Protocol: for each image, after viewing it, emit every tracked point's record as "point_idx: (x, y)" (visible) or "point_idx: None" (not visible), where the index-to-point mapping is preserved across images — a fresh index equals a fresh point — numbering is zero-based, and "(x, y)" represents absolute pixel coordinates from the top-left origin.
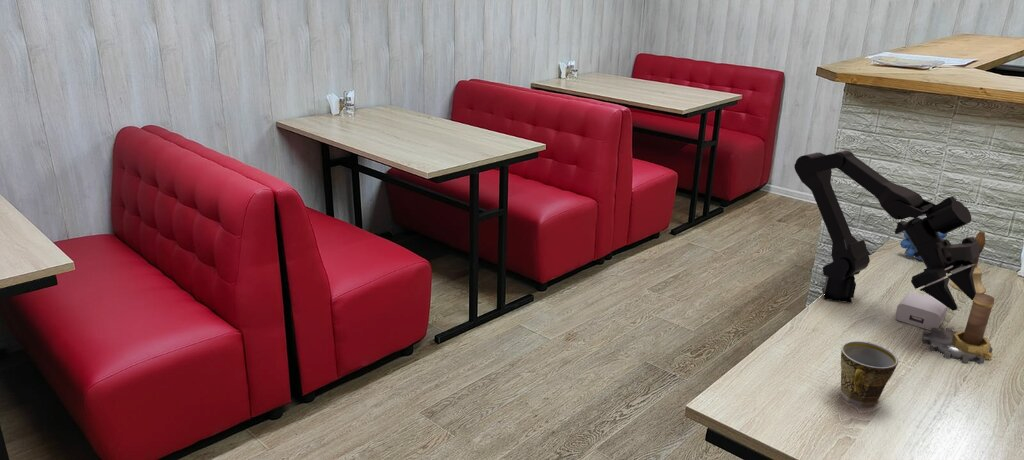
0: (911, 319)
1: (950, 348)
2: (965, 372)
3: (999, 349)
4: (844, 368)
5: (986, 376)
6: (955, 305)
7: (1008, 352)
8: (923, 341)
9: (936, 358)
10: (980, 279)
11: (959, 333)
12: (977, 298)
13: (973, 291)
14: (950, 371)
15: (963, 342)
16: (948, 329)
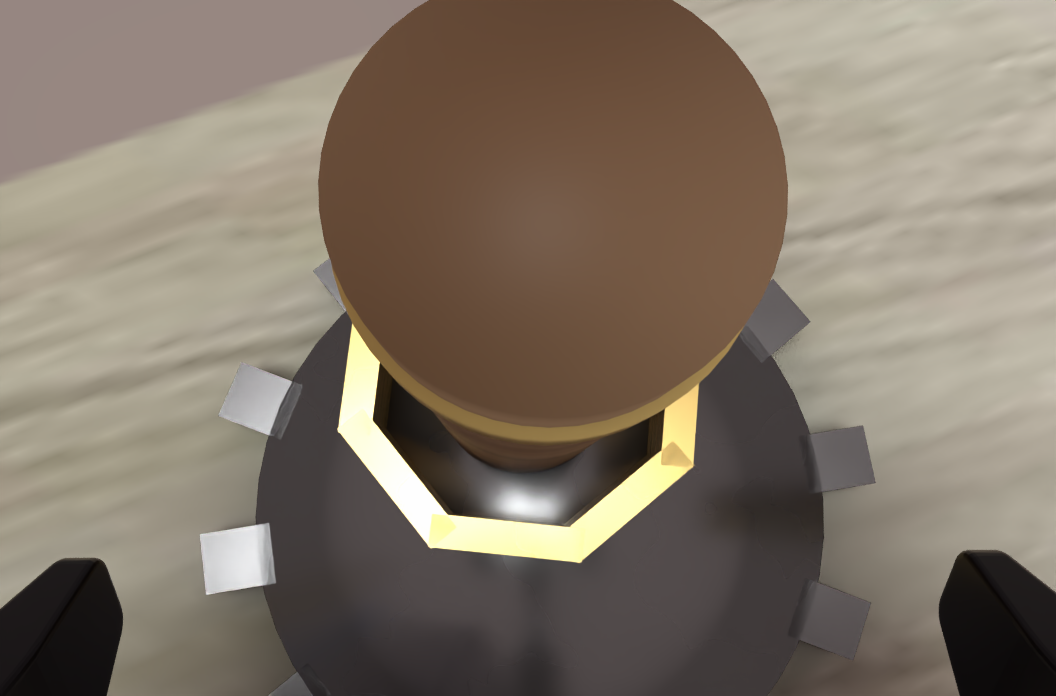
0: None
1: (738, 486)
2: (941, 229)
3: (200, 246)
4: None
5: (838, 97)
6: (1054, 598)
7: (190, 173)
8: None
9: (940, 506)
10: None
11: (507, 528)
12: (764, 281)
13: (21, 689)
14: (1050, 313)
15: (696, 392)
16: None
